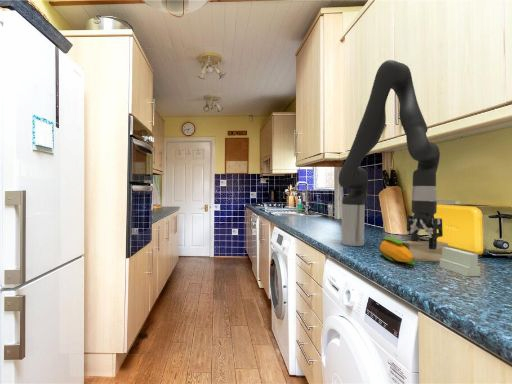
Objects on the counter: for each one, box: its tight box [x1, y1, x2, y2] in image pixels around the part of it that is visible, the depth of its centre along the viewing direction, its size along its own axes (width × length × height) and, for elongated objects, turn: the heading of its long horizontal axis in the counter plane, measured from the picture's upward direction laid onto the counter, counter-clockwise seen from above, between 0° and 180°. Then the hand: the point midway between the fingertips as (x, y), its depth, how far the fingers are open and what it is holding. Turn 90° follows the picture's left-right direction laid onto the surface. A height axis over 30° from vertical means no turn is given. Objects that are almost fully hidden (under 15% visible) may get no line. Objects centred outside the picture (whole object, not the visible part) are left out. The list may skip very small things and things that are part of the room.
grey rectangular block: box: [439, 246, 481, 277], centre depth 87 cm, size 10×4×6 cm, turn 9°
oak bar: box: [401, 240, 449, 262], centre depth 102 cm, size 4×14×6 cm, turn 97°
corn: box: [379, 236, 416, 265], centre depth 98 cm, size 7×8×20 cm
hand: (423, 246), depth 101 cm, fingers open, 8 cm apart
